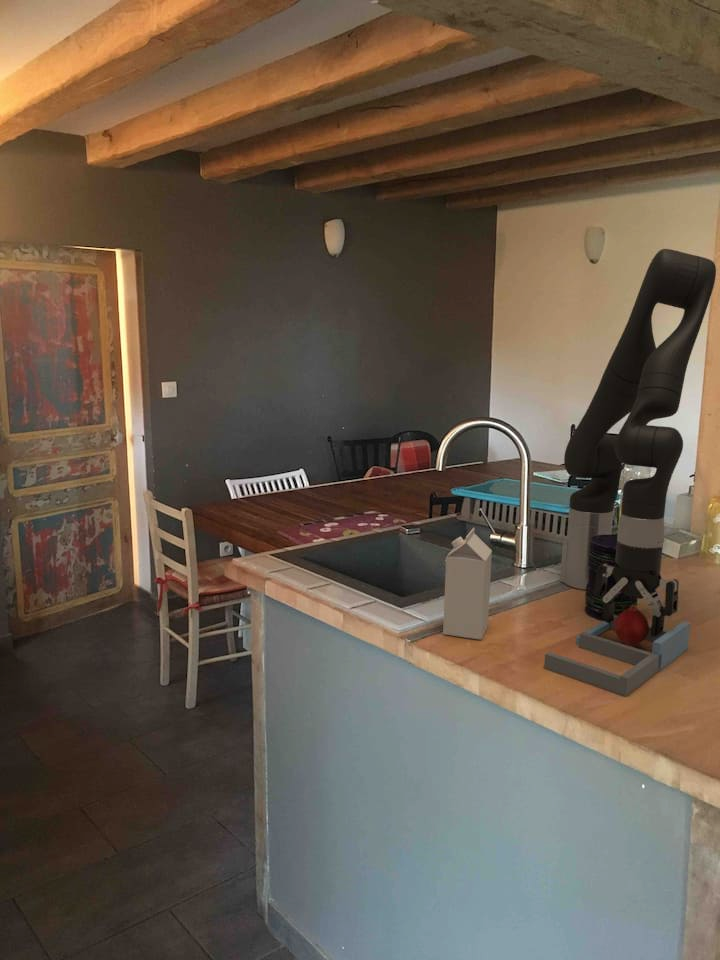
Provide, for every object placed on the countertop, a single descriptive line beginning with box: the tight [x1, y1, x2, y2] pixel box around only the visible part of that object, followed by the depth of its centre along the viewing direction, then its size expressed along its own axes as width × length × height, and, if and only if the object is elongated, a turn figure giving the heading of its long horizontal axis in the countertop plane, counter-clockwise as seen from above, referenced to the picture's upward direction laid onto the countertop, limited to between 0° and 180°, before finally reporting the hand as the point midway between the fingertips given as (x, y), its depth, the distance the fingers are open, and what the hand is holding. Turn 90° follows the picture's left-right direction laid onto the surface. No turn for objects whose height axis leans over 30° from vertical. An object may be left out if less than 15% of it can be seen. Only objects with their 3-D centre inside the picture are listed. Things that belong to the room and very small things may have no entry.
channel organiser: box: [543, 615, 691, 697], centre depth 132 cm, size 15×25×5 cm, turn 137°
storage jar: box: [584, 534, 639, 622], centre depth 152 cm, size 10×10×15 cm
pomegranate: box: [614, 605, 650, 648], centre depth 136 cm, size 6×6×8 cm
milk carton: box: [442, 527, 493, 640], centre depth 141 cm, size 7×7×19 cm
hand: (631, 628), depth 136 cm, fingers open, 8 cm apart
